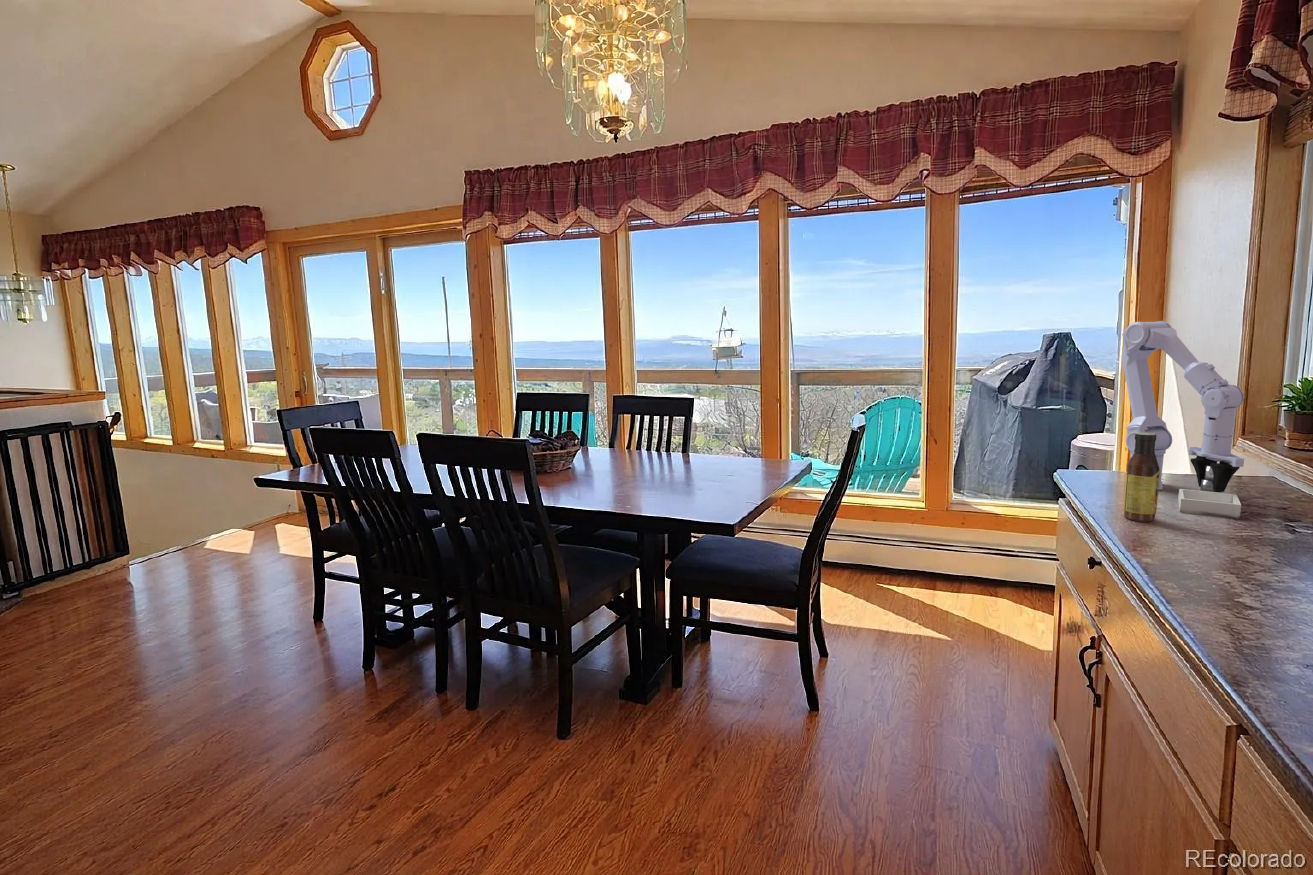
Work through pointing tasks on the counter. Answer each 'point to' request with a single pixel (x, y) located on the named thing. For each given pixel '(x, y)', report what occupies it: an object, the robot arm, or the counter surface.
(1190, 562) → the counter surface
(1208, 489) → the silver metal knob
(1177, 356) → the robot arm
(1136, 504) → the sauce bottle
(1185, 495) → the bin
